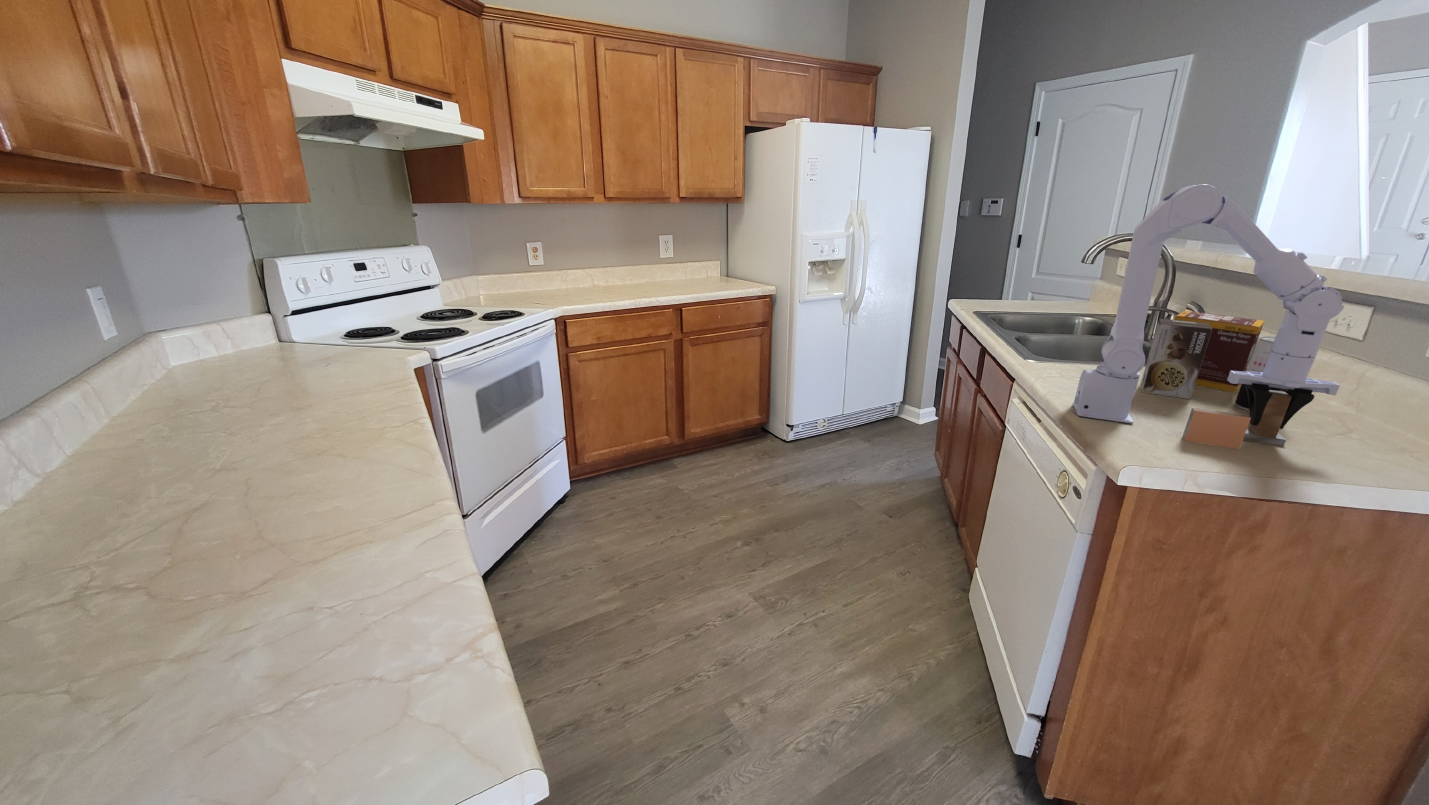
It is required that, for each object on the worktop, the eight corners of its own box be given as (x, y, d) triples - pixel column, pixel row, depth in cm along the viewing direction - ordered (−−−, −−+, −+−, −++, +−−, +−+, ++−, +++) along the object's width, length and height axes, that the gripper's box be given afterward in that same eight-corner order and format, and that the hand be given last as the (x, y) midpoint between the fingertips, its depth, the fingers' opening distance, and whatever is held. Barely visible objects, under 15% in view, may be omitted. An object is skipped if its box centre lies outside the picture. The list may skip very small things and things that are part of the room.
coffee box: (1187, 392, 131) (1209, 322, 125) (1190, 400, 126) (1214, 328, 120) (1139, 384, 135) (1158, 317, 130) (1140, 392, 130) (1161, 322, 125)
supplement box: (1236, 393, 131) (1260, 326, 125) (1155, 377, 141) (1174, 314, 136) (1242, 384, 137) (1266, 320, 132) (1165, 369, 148) (1183, 309, 143)
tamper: (1242, 439, 105) (1259, 392, 102) (1235, 433, 108) (1252, 388, 105) (1283, 445, 103) (1303, 398, 100) (1276, 439, 106) (1295, 392, 103)
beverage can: (1244, 401, 125) (1269, 334, 120) (1281, 411, 120) (1309, 342, 115) (1227, 405, 123) (1251, 337, 118) (1264, 415, 117) (1291, 344, 112)
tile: (1184, 441, 105) (1194, 410, 103) (1182, 437, 106) (1192, 407, 104) (1239, 449, 102) (1251, 418, 100) (1236, 445, 103) (1247, 414, 101)
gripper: (1249, 353, 99) (1223, 425, 104) (1361, 364, 94) (1328, 440, 98) (1234, 344, 105) (1210, 413, 110) (1338, 354, 100) (1308, 426, 105)
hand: (1264, 425), depth 105 cm, fingers closed on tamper, 3 cm apart
